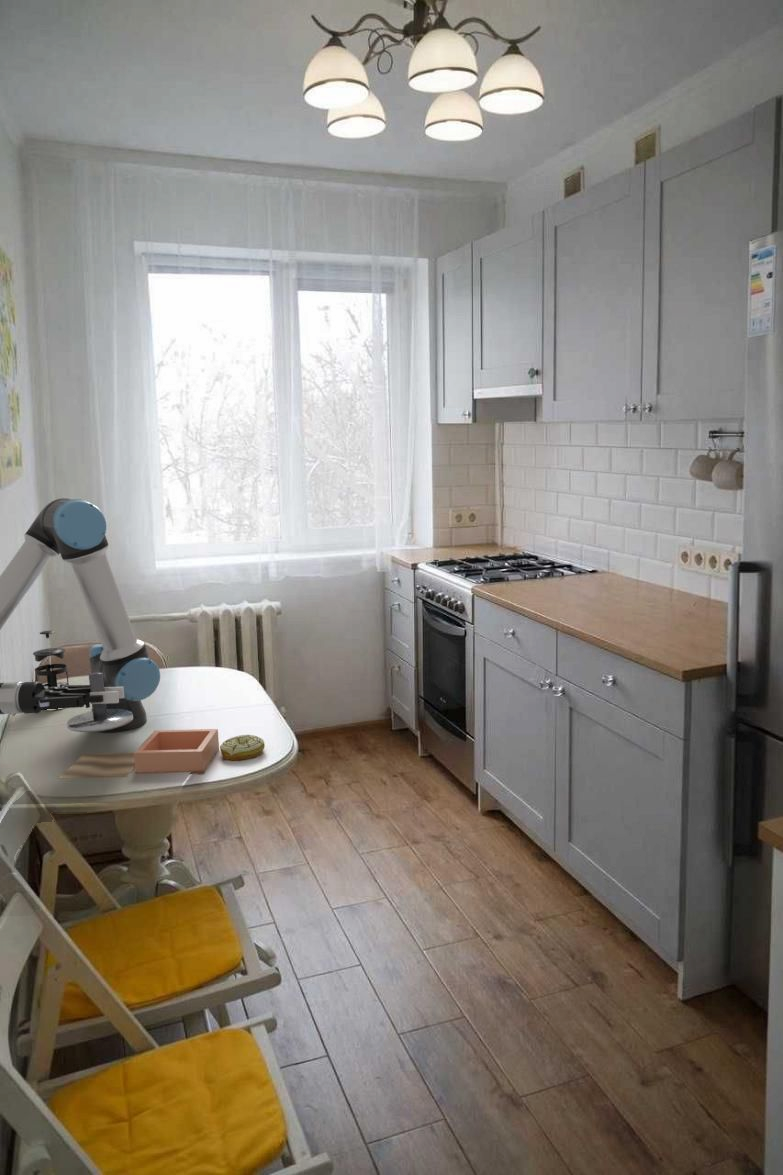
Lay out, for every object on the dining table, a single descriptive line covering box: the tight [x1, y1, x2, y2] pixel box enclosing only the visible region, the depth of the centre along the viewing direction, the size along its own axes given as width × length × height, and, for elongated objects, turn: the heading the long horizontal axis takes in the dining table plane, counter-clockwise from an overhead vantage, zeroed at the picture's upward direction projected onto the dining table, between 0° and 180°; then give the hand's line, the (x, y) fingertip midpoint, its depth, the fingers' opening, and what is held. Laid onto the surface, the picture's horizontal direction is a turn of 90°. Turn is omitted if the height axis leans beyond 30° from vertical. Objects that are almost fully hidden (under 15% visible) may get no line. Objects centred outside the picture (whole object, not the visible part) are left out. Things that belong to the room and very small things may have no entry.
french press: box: [32, 630, 70, 689], centre depth 265 cm, size 12×9×23 cm
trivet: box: [58, 751, 135, 779], centre depth 214 cm, size 16×16×1 cm
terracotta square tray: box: [133, 728, 220, 775], centre depth 215 cm, size 16×16×6 cm
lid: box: [66, 672, 133, 733], centre depth 211 cm, size 15×15×12 cm
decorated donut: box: [219, 734, 266, 761], centre depth 219 cm, size 10×11×4 cm
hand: (120, 694), depth 211 cm, fingers closed on lid, 3 cm apart
